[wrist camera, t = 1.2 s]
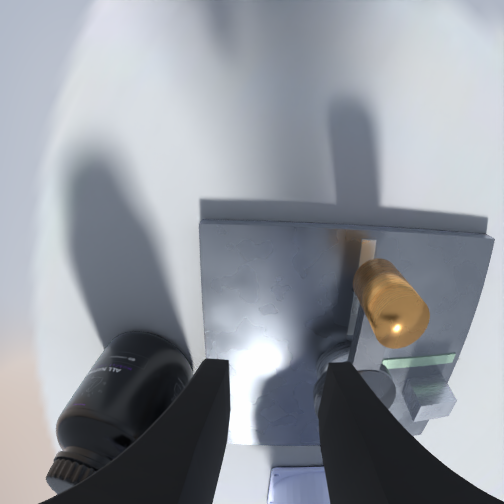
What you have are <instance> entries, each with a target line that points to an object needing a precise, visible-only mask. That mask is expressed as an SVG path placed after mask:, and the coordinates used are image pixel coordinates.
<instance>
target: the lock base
mask: <svg viewBox="0 0 504 504" xmlns="http://www.w3.org/2000/svg"><path fill="white" fill-rule="evenodd" d="M199 239H200V265H201V286H202V304H203V320H204V335H205V349H206V358H211V359H225V360H229V375H230V405H231V411H230V421H229V430H228V439H227V443H234V444H250V445H279V446H304V445H320V438H319V420H318V418H317V416H316V413H315V408H314V400H313V389H314V386H315V384H316V382H317V381H318V379H319V378H320V377H321V375H323V374H324V373H325V372H326V371H327V368H328V363H329V362H344V361H347V360H348V356H349V352H350V347H351V343H352V338H353V333H354V328H355V323H356V318H357V313H358V308H359V300H358V298H357V296H356V294H355V292H354V289H353V278H354V275H355V273H356V271H357V270H358V268H359V267H360V266H361V265H362V264H364V263H365V262H367V261H369V260H371V259H376V258H382V259H386V260H388V261H390V262H391V263H392V264H393V265H394V266H395V267H396V268H397V270H398V271H399V272H400V273H401V274H402V275H403V277H404V278H405V279H406V280H407V281H408V282H409V284H410V285H411V286H412V287H413V288H414V290H415V291H416V292H417V293H418V295H419V296H420V297H421V298H422V299H423V301H424V302H425V303H426V304H427V306H428V308H429V312H430V319H429V323H428V326H427V328H426V330H425V332H424V333H423V334H422V336H421V337H420V338H419V339H418V340H416V341H415V342H414V343H412V344H410V345H408V346H406V347H403V348H398V349H392V348H387V347H386V349H385V353H384V356H383V360H382V364H383V365H385V366H386V367H387V369H388V370H389V372H390V375H391V377H392V380H393V382H394V384H395V387H396V397H395V400H394V402H393V404H392V405H391V407H390V408H389V409H388V410H389V411H390V412H391V413H392V414H393V416H394V417H395V418H396V419H397V420H398V421H399V422H400V423H401V424H402V426H403V427H404V428H405V429H406V430H407V431H408V432H409V433H410V434H411V435H412V436H414V435H420V434H421V433H422V431H423V430H424V428H425V426H426V424H427V422H428V421H429V419H434V418H440V417H445V416H449V414H450V412H451V410H452V409H453V407H454V405H455V403H456V401H457V400H456V398H455V396H454V394H453V392H452V391H451V389H450V387H449V385H448V384H447V383H448V380H449V378H450V376H451V374H452V371H453V369H454V367H455V365H456V362H457V360H458V357H459V355H460V352H461V350H462V347H463V345H464V342H465V340H466V337H467V334H468V332H469V329H470V326H471V323H472V320H473V317H474V314H475V311H476V308H477V305H478V302H479V299H480V295H481V292H482V289H483V285H484V282H485V278H486V274H487V270H488V266H489V262H490V258H491V254H492V250H493V245H494V240H495V239H494V238H492V237H490V236H489V235H487V234H478V233H466V232H454V231H441V230H428V229H414V228H399V227H383V226H366V225H348V224H328V223H306V222H281V221H252V220H215V219H203V220H202V221H201V222H200V223H199Z"/></svg>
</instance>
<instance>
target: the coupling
mask: <svg viewBox="0 0 504 504" xmlns="http://www.w3.org/2000/svg"><path fill="white" fill-rule="evenodd" d="M353 289H354V292H355V294H356V296H357V298H358V300H359V308H358V313H357V318H356V323H355V328H354V333H353V338H352V343H351V347H350V352H349V356H348V360H347V361H344V362H351V363H352V365H353V366H354V367H355V368H356V370H357V371H358V372H359V374H360V375H361V376H362V377H363V379H364V380H365V381H366V383H367V384H368V385H369V387H370V388H371V389H372V390H373V392H374V393H375V394H376V395H377V397H378V398H379V399H380V400H381V401H382V403H383V404H384V405H385V406H386V407H387V409H389V408H390V407H391V405H392V404H393V402H394V400H395V397H396V387H395V384H394V382H393V380H392V377H391V375H390V372H389V370H388V369H387V367H386V366H385V365H383V364H382V360H383V356H384V353H385V349H386V347H387V348H392V349H398V348H403V347H406V346H408V345H410V344H412V343H414V342H415V341H416V340H418V339H419V338H420V337H421V336H422V334H423V333H424V332H425V330H426V328H427V326H428V323H429V319H430V312H429V308H428V306H427V304H426V303H425V302H424V301H423V299H422V298H421V297H420V296H419V295H418V293H417V292H416V291H415V290H414V288H413V287H412V286H411V285H410V284H409V282H408V281H407V280H406V279H405V278H404V277H403V275H402V274H401V273H400V272H399V271H398V270H397V268H396V267H395V266H394V265H393V264H392V263H391V262H390V261H388V260H386V259H382V258H376V259H371V260H369V261H367V262H365V263H364V264H362V265H361V266H360V267H359V268H358V270H357V271H356V273H355V275H354V278H353ZM326 373H327V371H326V372H325V373H324V374H323V375H321V377H320V378H319V379H318V381H317V382H316V384H315V386H314V389H313V400H314V408H315V413H316V416H317V418H318V410H319V406H320V401H321V397H322V392H323V388H324V383H325V378H326Z"/></svg>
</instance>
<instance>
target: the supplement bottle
mask: <svg viewBox="0 0 504 504" xmlns="http://www.w3.org/2000/svg"><path fill="white" fill-rule="evenodd" d="M192 376H193V372H192V369H191V366H190V364H189V362H188V360H187V359H186V357H185V356H184V355H183V354H182V353H181V351H180V350H179V349H178V348H176V347H175V346H174V345H173V344H171V343H170V342H168V341H167V340H165V339H163V338H161V337H159V336H156V335H154V334H150V333H146V332H127V333H123V334H121V335H119V336H117V337H115V338H114V339H113V340H112V341H111V342H110V343H109V345H108V346H107V347H106V349H105V350H104V351H103V353H102V354H101V355H100V357H99V358H98V360H97V361H96V363H95V364H94V365H93V367H92V368H91V370H90V371H89V373H88V374H87V376H86V377H85V379H84V380H83V381H82V383H81V384H80V386H79V387H78V389H77V390H76V392H75V393H74V395H73V396H72V398H71V399H70V401H69V402H68V404H67V405H66V407H65V408H64V410H63V412H62V413H61V415H60V417H59V419H58V421H57V424H56V435H57V439H58V442H59V445H60V447H61V449H62V450H63V451H60V452H58V453H57V455H56V457H55V458H54V463H53V465H52V466H51V468H50V470H49V472H48V474H47V476H46V480H47V483H48V484H49V486H50V487H51V488H52V490H54V491H55V492H56V493H57V494H60V493H61V492H63V491H65V490H67V489H69V488H71V487H73V486H74V485H76V484H78V483H80V482H81V481H83V480H85V479H86V478H88V477H89V476H91V475H92V474H94V473H95V472H97V471H98V470H99V469H101V468H102V467H104V466H105V465H106V464H108V463H109V462H110V461H112V460H113V459H114V458H116V457H117V456H118V455H119V454H121V453H122V452H123V451H124V450H125V449H127V448H128V447H129V446H130V445H131V444H132V443H134V442H135V441H136V440H137V439H138V438H139V437H140V436H141V435H142V434H143V433H144V432H145V431H146V430H147V429H148V428H149V427H150V426H151V425H152V424H153V423H154V422H155V421H156V420H157V419H158V418H159V417H160V416H161V415H162V414H163V412H164V411H165V410H166V409H167V408H168V407H169V405H170V404H171V403H172V402H173V401H174V400H175V398H176V397H177V396H178V395H179V394H180V392H181V391H182V390H183V388H184V387H185V386H186V385H187V383H188V382H189V381H190V379H191V378H192Z"/></svg>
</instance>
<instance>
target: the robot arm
mask: <svg viewBox="0 0 504 504" xmlns="http://www.w3.org/2000/svg"><path fill="white" fill-rule="evenodd" d="M230 411H231V405H230V375H229V360H225V359H211V358H206V359H205V360H204V361H203V362H202V363H201V365H200V366H199V368H198V369H197V371H196V372H195V374H194V375H193V376H192V378H191V379H190V381H189V382H188V383H187V385H186V386H185V387H184V388H183V390H182V391H181V392H180V394H179V395H178V396H177V397H176V398H175V400H174V401H173V402H172V403H171V404H170V405H169V407H168V408H167V409H166V410H165V411H164V412H163V414H162V415H161V416H160V417H159V418H158V419H157V420H156V421H155V422H154V423H153V424H152V425H151V426H150V427H149V428H148V429H147V430H146V431H145V432H144V433H143V434H142V435H141V436H140V437H139V438H138V439H137V440H136V441H135V442H134V443H132V444H131V445H130V446H129V447H128V448H127V449H125V450H124V451H123V452H122V453H121V454H119V455H118V456H117V457H116V458H114V459H113V460H112V461H110V462H109V463H108V464H106V465H105V466H104V467H102V468H101V469H99V470H98V471H97V472H95V473H94V474H92V475H91V476H89V477H88V478H86V479H85V480H83V481H81V482H80V483H78V484H76V485H74V486H73V487H71V488H69V489H67V490H65V491H63V492H61V493H60V494H58V495H56V496H54V497H52V498H50V499H48V500H46V501H44V502H41V503H39V504H212V502H213V498H214V494H215V490H216V486H217V482H218V478H219V473H220V469H221V465H222V461H223V457H224V452H225V448H226V444H227V439H228V430H229V421H230ZM318 420H319V438H320V447H321V452H322V458H323V464H324V467H295V468H280V467H277V468H273V469H272V472H271V479H270V486H269V493H268V500H267V504H504V502H503V501H501V500H499V499H497V498H495V497H493V496H491V495H489V494H487V493H486V492H484V491H482V490H481V489H479V488H477V487H476V486H474V485H473V484H471V483H470V482H468V481H467V480H465V479H464V478H462V477H461V476H459V475H458V474H456V473H455V472H453V471H452V470H451V469H449V468H448V467H447V466H445V465H444V464H443V463H442V462H441V461H439V460H438V459H437V458H436V457H435V456H433V455H432V454H431V453H430V452H429V451H428V450H426V449H425V448H424V447H423V446H422V445H421V444H420V443H419V442H418V441H417V440H416V439H415V438H414V437H413V436H412V435H411V434H410V433H409V432H408V431H407V430H406V429H405V428H404V427H403V426H402V424H401V423H400V422H399V421H398V420H397V419H396V418H395V417H394V416H393V414H392V413H391V412H390V411H389V410H388V409H387V407H386V406H385V405H384V404H383V403H382V401H381V400H380V399H379V398H378V397H377V395H376V394H375V393H374V392H373V390H372V389H371V388H370V387H369V385H368V384H367V383H366V381H365V380H364V379H363V377H362V376H361V375H360V374H359V372H358V371H357V370H356V368H355V367H354V366H353V365H352V363H351V362H329V363H328V368H327V373H326V378H325V383H324V388H323V392H322V397H321V401H320V406H319V410H318Z"/></svg>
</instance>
